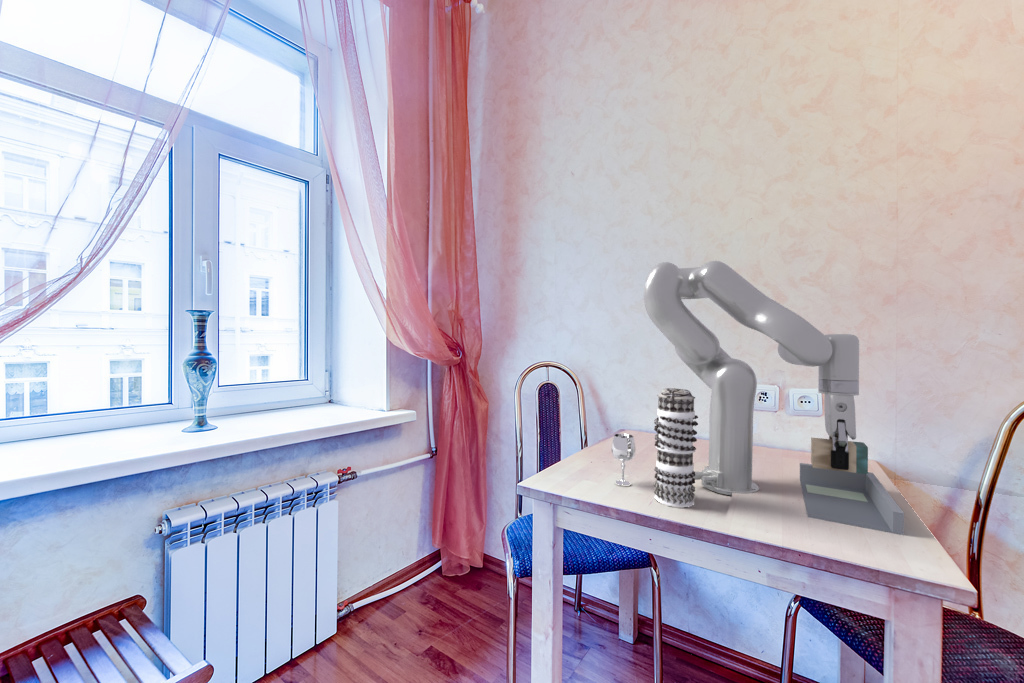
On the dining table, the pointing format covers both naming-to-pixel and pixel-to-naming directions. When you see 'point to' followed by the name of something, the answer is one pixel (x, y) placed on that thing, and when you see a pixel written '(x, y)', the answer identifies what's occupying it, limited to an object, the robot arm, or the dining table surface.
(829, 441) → the oak block
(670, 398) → the decorative candle
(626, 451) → the wineglass
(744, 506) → the dining table surface
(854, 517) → the tray
